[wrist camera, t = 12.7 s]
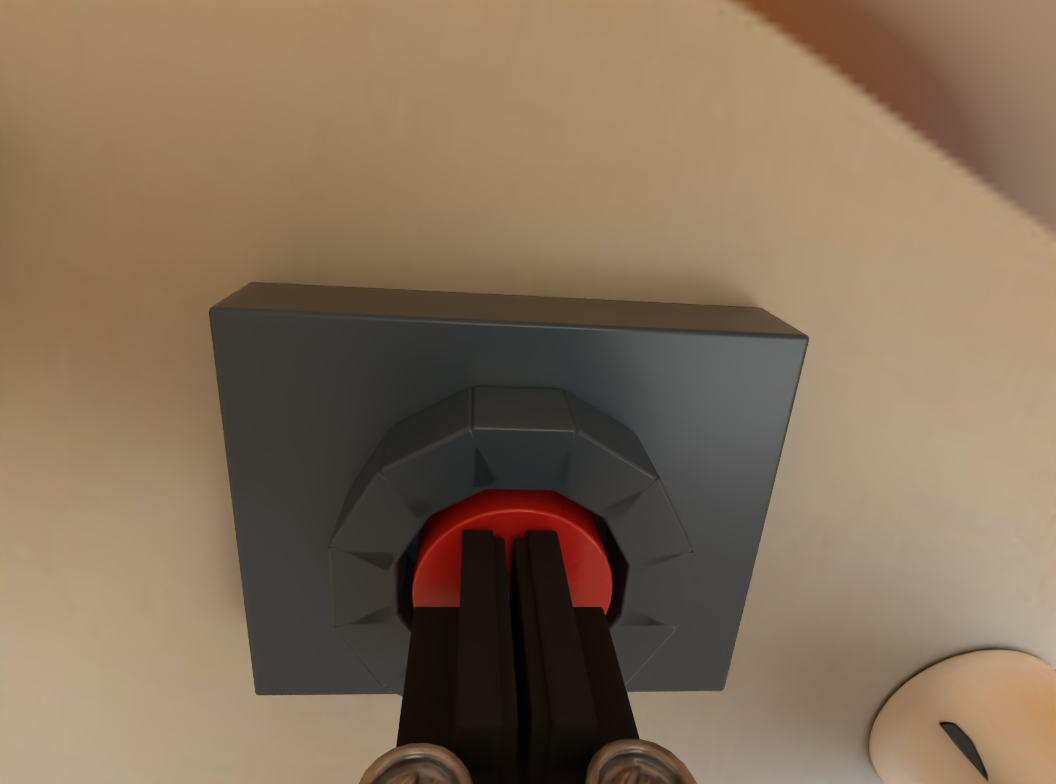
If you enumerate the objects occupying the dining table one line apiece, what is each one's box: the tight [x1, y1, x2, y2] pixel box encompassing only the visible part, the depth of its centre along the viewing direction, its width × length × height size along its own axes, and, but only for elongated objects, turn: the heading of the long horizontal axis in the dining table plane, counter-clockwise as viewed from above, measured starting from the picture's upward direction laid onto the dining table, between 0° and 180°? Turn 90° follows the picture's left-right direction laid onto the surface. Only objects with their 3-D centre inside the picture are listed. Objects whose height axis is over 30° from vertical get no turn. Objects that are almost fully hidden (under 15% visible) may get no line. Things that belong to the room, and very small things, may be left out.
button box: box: [209, 282, 809, 696], centre depth 13 cm, size 11×9×4 cm
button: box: [412, 489, 613, 615], centre depth 12 cm, size 4×4×2 cm
